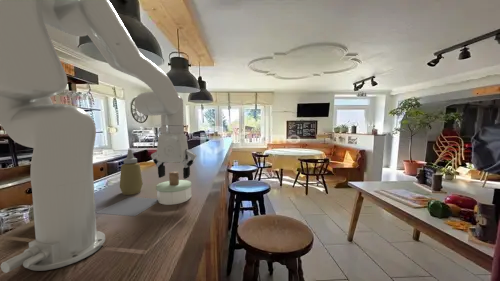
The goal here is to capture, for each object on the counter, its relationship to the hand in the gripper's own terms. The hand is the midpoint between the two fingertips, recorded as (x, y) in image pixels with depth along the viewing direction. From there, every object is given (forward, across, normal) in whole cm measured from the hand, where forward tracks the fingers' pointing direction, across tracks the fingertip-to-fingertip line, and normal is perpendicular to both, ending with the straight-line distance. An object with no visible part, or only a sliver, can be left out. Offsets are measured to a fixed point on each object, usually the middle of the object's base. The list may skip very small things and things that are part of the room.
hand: (174, 177), depth 72 cm
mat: (+9, -11, -8) cm, 16 cm away
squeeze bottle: (+9, -21, +4) cm, 23 cm away
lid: (+4, 0, 0) cm, 4 cm away
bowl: (+9, 0, 0) cm, 9 cm away
